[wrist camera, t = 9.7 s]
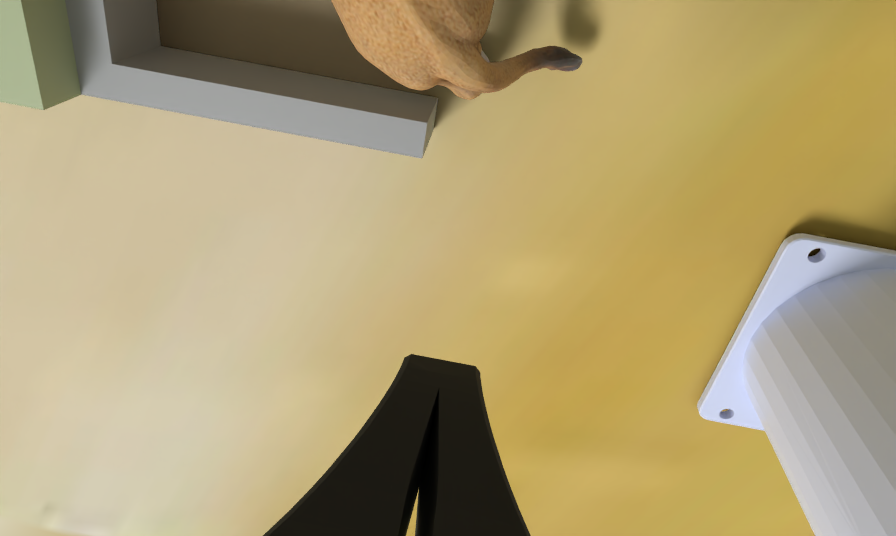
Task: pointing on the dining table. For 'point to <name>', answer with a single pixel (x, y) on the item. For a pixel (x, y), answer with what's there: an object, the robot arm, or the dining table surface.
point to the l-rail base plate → (190, 77)
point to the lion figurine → (439, 44)
